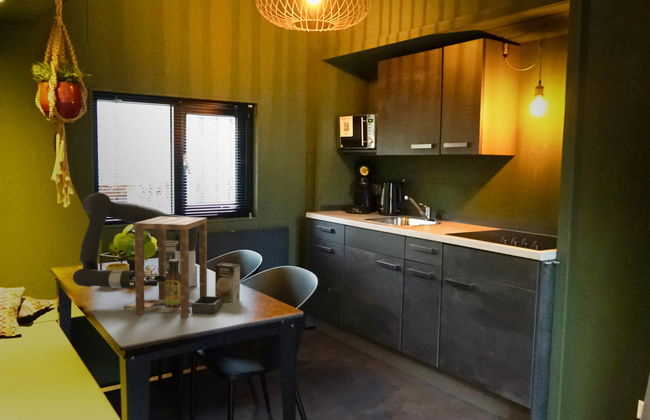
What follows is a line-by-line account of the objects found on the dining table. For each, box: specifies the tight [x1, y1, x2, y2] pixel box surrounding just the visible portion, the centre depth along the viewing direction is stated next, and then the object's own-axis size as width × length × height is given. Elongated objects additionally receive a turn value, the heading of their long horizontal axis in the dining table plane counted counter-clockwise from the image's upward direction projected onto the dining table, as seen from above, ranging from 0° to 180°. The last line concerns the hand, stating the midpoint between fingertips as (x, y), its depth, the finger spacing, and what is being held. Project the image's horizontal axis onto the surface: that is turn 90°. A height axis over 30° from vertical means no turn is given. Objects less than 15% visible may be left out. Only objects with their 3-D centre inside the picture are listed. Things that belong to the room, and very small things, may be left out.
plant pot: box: [105, 262, 130, 270], centre depth 262 cm, size 10×10×10 cm
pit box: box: [191, 295, 224, 315], centre depth 223 cm, size 9×12×4 cm
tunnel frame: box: [123, 216, 208, 319], centre depth 224 cm, size 28×25×36 cm
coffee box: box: [214, 262, 241, 305], centre depth 237 cm, size 9×6×16 cm
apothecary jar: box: [166, 240, 179, 275], centre depth 284 cm, size 12×12×18 cm
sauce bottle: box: [164, 259, 181, 308], centre depth 224 cm, size 6×6×20 cm
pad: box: [128, 301, 157, 307], centre depth 226 cm, size 9×10×1 cm
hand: (161, 281), depth 224 cm, fingers open, 8 cm apart
